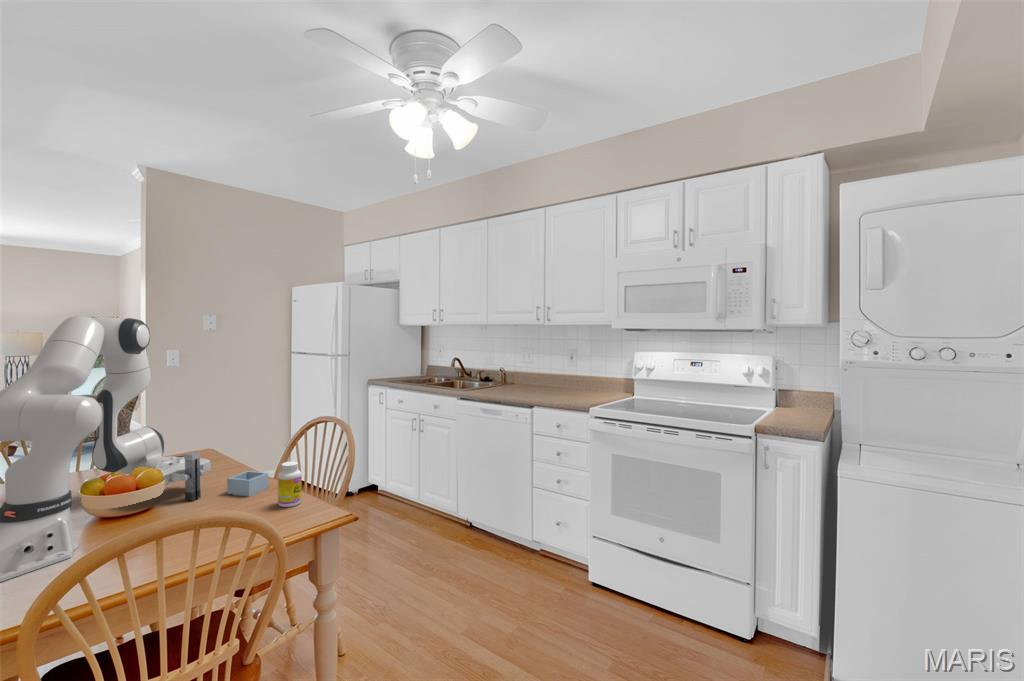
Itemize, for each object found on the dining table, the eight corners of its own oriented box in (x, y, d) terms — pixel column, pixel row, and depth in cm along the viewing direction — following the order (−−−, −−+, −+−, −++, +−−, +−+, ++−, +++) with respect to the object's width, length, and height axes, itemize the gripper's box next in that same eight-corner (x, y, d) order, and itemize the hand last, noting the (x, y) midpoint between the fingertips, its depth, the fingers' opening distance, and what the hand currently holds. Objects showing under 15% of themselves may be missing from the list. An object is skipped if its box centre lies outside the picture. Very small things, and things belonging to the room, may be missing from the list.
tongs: (192, 500, 153) (192, 455, 152) (184, 499, 153) (184, 454, 153) (200, 497, 156) (200, 452, 155) (193, 496, 156) (192, 452, 156)
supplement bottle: (295, 508, 149) (295, 466, 148) (274, 507, 149) (273, 466, 148) (305, 500, 155) (304, 460, 155) (284, 499, 155) (284, 460, 155)
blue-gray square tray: (249, 496, 158) (249, 480, 157) (227, 494, 160) (227, 478, 159) (268, 488, 166) (268, 472, 166) (247, 485, 168) (247, 470, 168)
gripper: (129, 470, 148) (161, 475, 144) (192, 453, 168) (222, 457, 163) (129, 490, 149) (161, 495, 144) (192, 471, 168) (222, 476, 164)
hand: (194, 475), depth 154 cm, fingers closed on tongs, 3 cm apart
